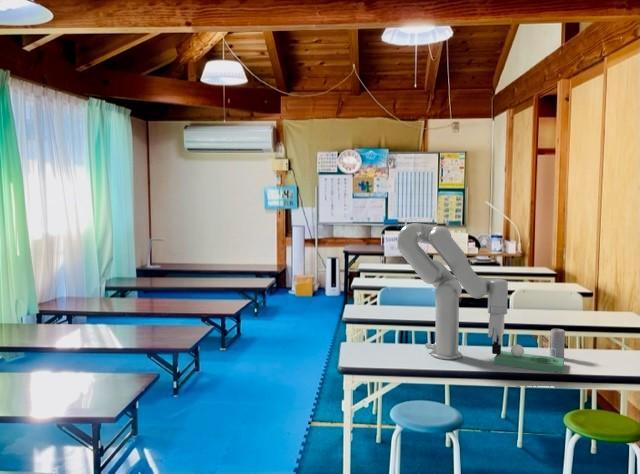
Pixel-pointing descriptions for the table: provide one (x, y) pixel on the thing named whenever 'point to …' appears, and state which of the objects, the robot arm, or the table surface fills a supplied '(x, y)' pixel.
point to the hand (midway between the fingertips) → (496, 353)
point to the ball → (517, 350)
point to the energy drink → (557, 343)
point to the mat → (530, 361)
